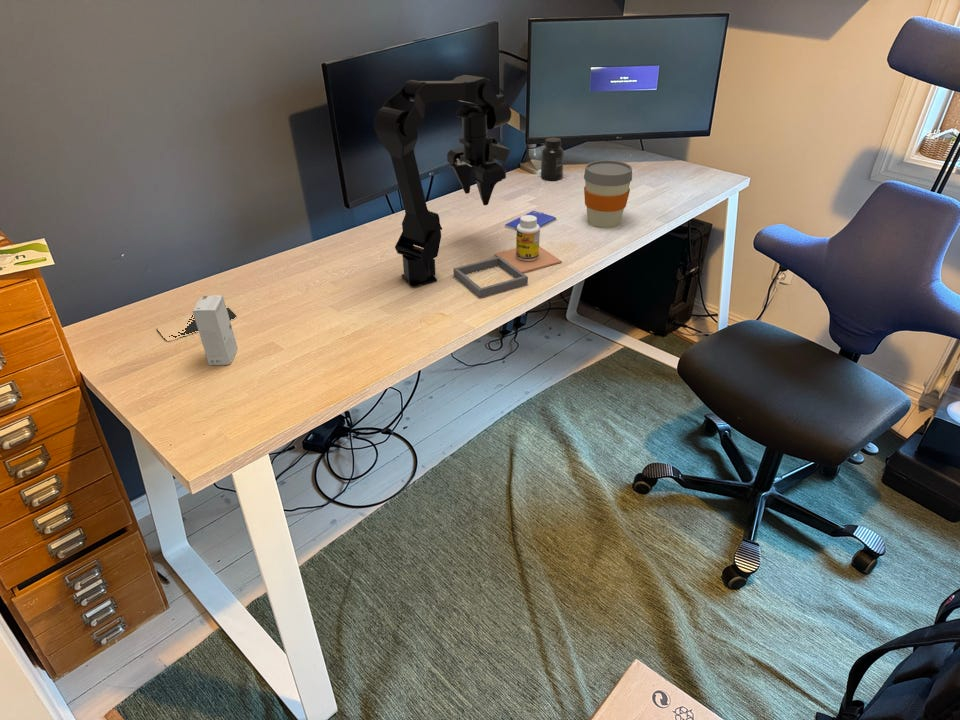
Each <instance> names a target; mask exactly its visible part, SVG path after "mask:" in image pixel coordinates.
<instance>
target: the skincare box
mask: <svg viewBox="0 0 960 720" xmlns="http://www.w3.org/2000/svg"><path fill="white" fill-rule="evenodd" d="M226 306H227V304H226V302H225V299H224V296H223V295H221V294H220V295H219V294H217V295H203V296H201V298H199V300H198V301H197V302H196V304H195V307H194V308H193V310H192V314H193V315H194V318H195V321H196V325H197V328H198V331H199V332H198V334H199V337H200V341H201V343H202V347H203V350H204V353H205V356H206V360H207V364H208V365H209V366H227V365H230V364H232V361H233V360H234V358H235V356H236V354H237V352H238V345H237V341H236V337H235V334H234V330H233V327H232V323H231V321H230V319H229V315H228V312H227V309H226Z"/></svg>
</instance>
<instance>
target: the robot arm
mask: <svg viewBox="0 0 960 720" xmlns="http://www.w3.org/2000/svg"><path fill="white" fill-rule="evenodd" d="M490 81H491V80H490V79H489V78H487V77H483V76H475V75H468V74H463V75H459V76H456V77H455V78H453V79H452V80H415V79H409V80H407V81H405V82H404V83H403V85H402V86H401V88H400V89H399V90H398V91H397V92H395V93H394V94H393V95H391V96H390V97H388V98H387V99H386V100H385V101H384V103H383V104H382V106H380V108H379V109H378V111H377V112H376V114H375V117H374V118H373V128H374V132H375V133H376V135H377V138H378V141H379V142H380V143H381V145H382V146H383V147H384V149H385V151H387V152H388V154H389V155H390V159H391V162H392V163H391V164H392V167H393V171H394V174H395V178H396V181H397V182H396V183H397V186H398V189H399V190H398V191H399V193H400V198H401V201H402V205H403V209H404V212H405V215H404V216H403V219H402V222H401V227H402V231H401V234H400V235H399V238H398V240H397V242H396V243H395V246H394V249H395V252H396V253H397V254H398V255H401V256H402V264H403V265H402V267H403V274H401V278H402V279H403V280H404V282H406V283H407V284H408V285H409V286H410V287H411V288H416V287H420V286H423V285H427V284H431V283H434V282H438V278H437V277H436V259H435V258H437V257H438V255H439V251H440V245H441V241H442V230H443V227H442V225H441V222H440V216H439V213H438V212H433V211H430V210H429V209H428V206H427V202H426V197H425V193H424V189H423V183H422V180H421V175H420V171H419V167H418V163H417V158H416V155H415V148H416V145H417V141H418V139H419V135H418V128H419V127H420V125H421V123H422V122H423V121H424V120H425V119H424V118H425V113H426V112H425V110H426V105H427V104H428V103H430V102H454V101H456V102H457V101H459V102H461V103H468V104H472V105H471V106H470V105H464V104H463V105H461V106H460V108H459V109H458V110H457V111H456V113H455V117H456V118H461V120H462V137H459V143H460V144H461V145H462V147H459V148H453V149H450V150H449V151H448V152H447V155H446V157H447V158H446V160H447V163H449V166H450V168H451V169H452V170H453V172H454V174H455V176H456V178H457V180H458V182H459V183H460V185H461V188H462V189H463V192H464V193H465V194H467V195H468V194H470V192H471V186H472V185H471V183H472V171H473V170H474V169H475V174H474V175H475V177H476V179H475V183H476V187H477V191H478V193H479V196H480V200H481V202H482V204H483V206H488V205H489V203H490V200H491V197H492V193H493V191H494V189H495V186H496V185H497V184H498V183H499V182H502V181H503V180H505V179H506V178H507V169H506V168H505V167H504V166H503V165H501V164H499V163H497V162H494V160H498V161H502V162H503V163H507V162H508V158H509V156H510V151H511V148H508V147H507V146H504V145H502V144H500V143H498V139H496V138H494V137H491V136H488V130H493V129H496V128H498V127H501V126H504V125H506V124H508V123H509V122H510V121H511V118H512V110H511V107H510V105H509V103H508V102H507V101H505V95H501V94H496V92H495V91H494V88H493V86H492V85H491V82H490ZM411 102H414V103H413V106H412V108H411V110H410V111H408V110H403V109H404V108H405V107H407V106H408V105H409V104H410V103H411ZM487 162H488V163H487ZM491 162H492V163H491Z"/></svg>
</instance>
